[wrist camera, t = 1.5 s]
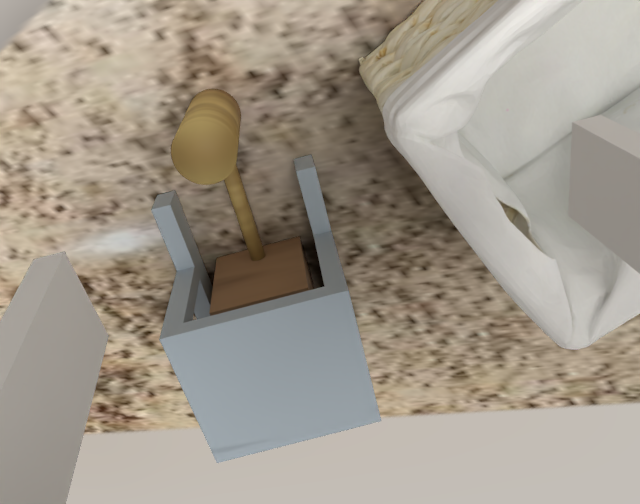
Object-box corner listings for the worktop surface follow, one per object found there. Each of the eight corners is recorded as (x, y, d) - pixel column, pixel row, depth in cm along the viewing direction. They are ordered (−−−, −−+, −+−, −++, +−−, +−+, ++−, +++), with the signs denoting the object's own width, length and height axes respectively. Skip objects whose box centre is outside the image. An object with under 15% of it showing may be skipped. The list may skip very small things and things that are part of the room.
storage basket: (684, -251, 29) (1044, -433, 16) (778, 11, 35) (1086, 37, 22) (327, 65, 34) (373, 126, 21) (467, 241, 41) (569, 371, 28)
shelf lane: (355, 327, 43) (381, 421, 34) (224, 360, 43) (216, 463, 34) (311, 154, 36) (329, 214, 27) (157, 194, 36) (126, 268, 28)
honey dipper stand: (319, 305, 42) (332, 375, 35) (242, 325, 42) (239, 399, 35) (254, 76, 34) (253, 106, 27) (158, 102, 34) (133, 138, 27)
